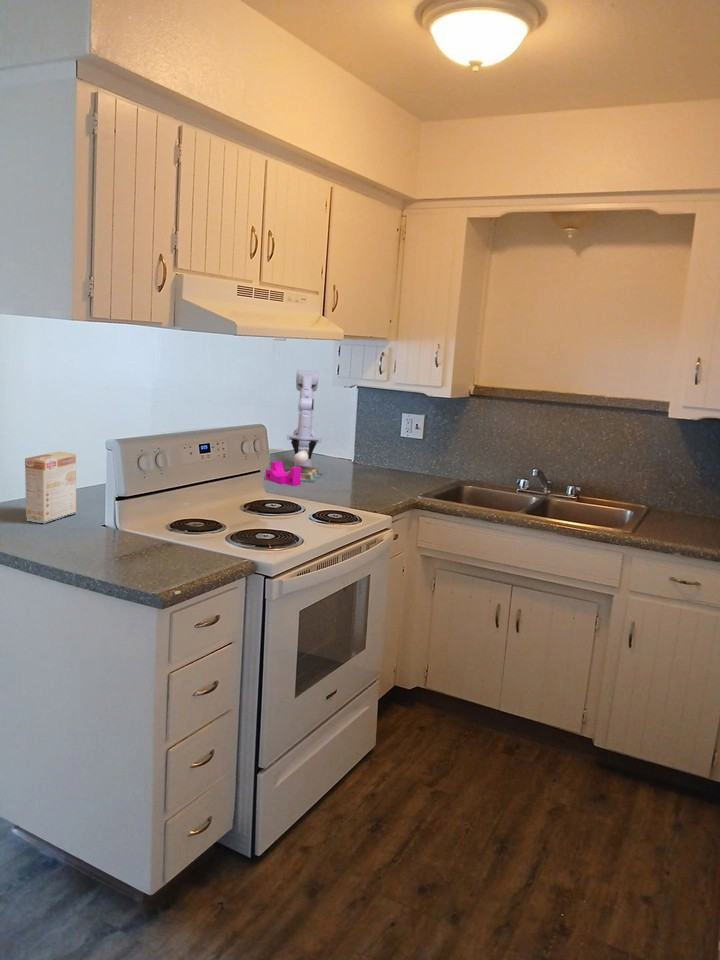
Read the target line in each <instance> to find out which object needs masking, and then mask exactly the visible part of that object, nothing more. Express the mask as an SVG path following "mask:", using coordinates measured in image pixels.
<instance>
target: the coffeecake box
mask: <svg viewBox="0 0 720 960" xmlns="http://www.w3.org/2000/svg"><path fill="white" fill-rule="evenodd" d="M76 458H77V454H76V453H70V452H65V451H55V452H50V453H46V454H40V455H35V456H31V457H25V458H24V474H25V475H24V476H25V479H24V480H25V483H24V484H25V519H26V518H29V519H34V520H39V521H48V520H51V519H55V518H58V517H61V516H64V515H67V514H70V513H73V512H76V513H77V461H76V460H77V459H76Z"/></svg>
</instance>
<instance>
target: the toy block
mask: <svg viewBox="0 0 720 960" xmlns="http://www.w3.org/2000/svg"><path fill="white" fill-rule="evenodd" d="M289 471H290V472H289V474H288V475H287V474H286V471H285V469H284V467H283V461H279V460H277V461H275V460H274V461H270V468H267V469H265V472H264V473H265V475H264V476H265V478H264V480H265V481H268V480H269V481H268V482H271V481H272V483H274V482H275V484H278V485H288V486H290V487H298V485H299V486H301V481H300V479H301V467H294V466H291V467H290V469H289Z"/></svg>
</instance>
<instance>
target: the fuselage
mask: <svg viewBox="0 0 720 960" xmlns="http://www.w3.org/2000/svg"><path fill="white" fill-rule="evenodd" d="M308 455H309V449H303V450H302V451H300V452H298V453H297V454H296V455H295V454H294V457H293V460H294V461H295V462H296V463H297V464H300V465H301V464H303V463H305V462H306V461H308V460H309V459H308ZM311 457H312V458H313V455H312V456H311ZM294 461H293V462H294Z"/></svg>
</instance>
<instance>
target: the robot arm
mask: <svg viewBox="0 0 720 960" xmlns="http://www.w3.org/2000/svg"><path fill="white" fill-rule="evenodd" d="M295 380H296V381H295V385H296V386H295V387H296V390H297V391H298V392H299V399H298V425H297V428H296V429H294V430H293V433H292V434H287V435H286V440H287V441H291V442H290V443H291V446H292V449H293V451H294V456H295V455H296V454H297V453H298V452H300V451H302V450H303V449H309V455H308V459H309V460H308V461H306V462H305V463H303V464H301V465H300V464H297V463H296V462H295V461H293V463H294V464H293V467H295V466H296V465H300V466H310V467H314V466H312V459H313V452H314V450H315V447H316V445H317V444H320V443H322V439H323V438H322V437H317V436H316V433H315V431H314V430H313V427H312V426H313V412H314V411H315V397H314V392H317V389H318V384H319V372H318V370H313V371H312V370H304V369H302V370H301V369H300V370H299V369H297V370H296V377H295ZM311 456H312V457H311Z"/></svg>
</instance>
